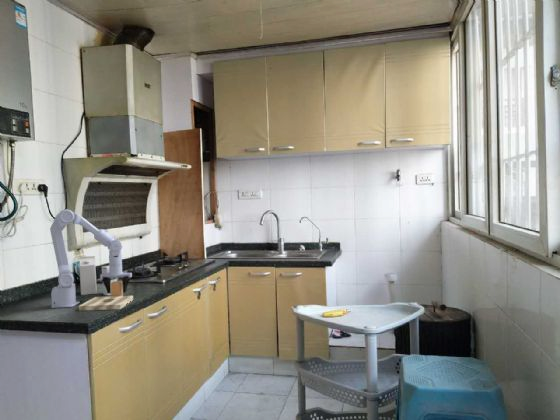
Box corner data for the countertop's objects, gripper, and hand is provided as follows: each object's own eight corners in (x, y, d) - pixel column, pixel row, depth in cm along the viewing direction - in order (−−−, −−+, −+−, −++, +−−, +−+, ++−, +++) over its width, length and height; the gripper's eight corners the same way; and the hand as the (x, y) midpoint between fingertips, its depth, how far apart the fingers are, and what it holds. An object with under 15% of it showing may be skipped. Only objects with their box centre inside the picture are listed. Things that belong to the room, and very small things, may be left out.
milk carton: (81, 292, 215) (79, 256, 214) (96, 290, 217) (94, 255, 217) (81, 295, 208) (79, 258, 207) (96, 293, 211) (94, 256, 210)
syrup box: (108, 295, 205) (107, 267, 204) (102, 294, 209) (101, 266, 208) (119, 293, 209) (117, 265, 209) (113, 292, 213) (112, 264, 212)
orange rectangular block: (111, 299, 197) (110, 283, 197) (114, 297, 201) (113, 281, 201) (119, 299, 197) (119, 282, 197) (122, 297, 201) (122, 281, 201)
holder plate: (78, 310, 179) (78, 306, 179) (95, 301, 195) (94, 297, 195) (120, 309, 179) (120, 304, 179) (133, 299, 195) (132, 295, 195)
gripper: (133, 262, 202) (134, 290, 203) (104, 263, 202) (105, 291, 203) (128, 265, 195) (129, 293, 196) (97, 266, 195) (99, 294, 196)
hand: (117, 292), depth 199 cm, fingers open, 7 cm apart
